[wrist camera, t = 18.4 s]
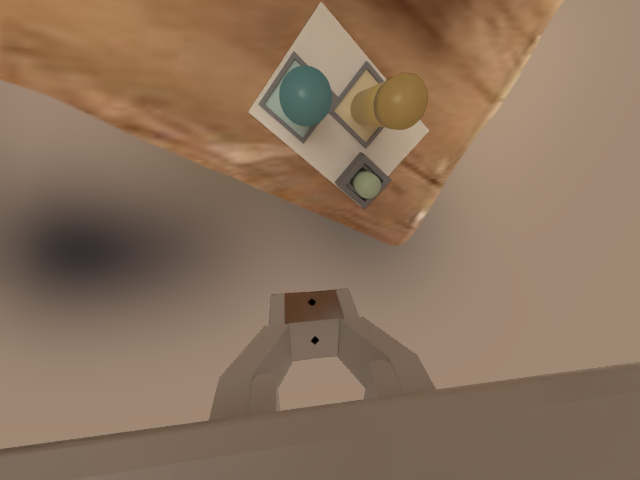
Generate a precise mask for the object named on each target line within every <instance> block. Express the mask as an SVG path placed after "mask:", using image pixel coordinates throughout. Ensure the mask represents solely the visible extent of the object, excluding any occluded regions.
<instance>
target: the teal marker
mask: <svg viewBox="0 0 640 480" xmlns="http://www.w3.org/2000/svg"><path fill="white" fill-rule="evenodd" d="M279 100H280V105H281V108H282V110H283V112H284V114H285V115H286V116H287V118H288V119H289V120H291V121H292V122H293V123H295V124H297V125H300V126H313V125H316V124H318V123H319V122H321V121H322V120H323V119H324V118H325V117H326V115H327V114H328V112H329V110H330V107H331V103H332V91H331V87H330V84H329V82H328V80H327V78H326V77H325V75H324V74H323V73H322V72H321V71H319V70H318V69H316V68H314V67H311V66H298V67H295V68H293V69H292V70H290V71H289V72H288V73H287V74H286V76H285V77H284V78H283V80H282V83H281V86H280V90H279Z"/></svg>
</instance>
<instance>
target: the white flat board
mask: <svg viewBox="0 0 640 480" xmlns="http://www.w3.org/2000/svg"><path fill="white" fill-rule="evenodd" d="M298 66H311V67H314V68H316V69H318V70H319V71H321V72H322V73H323V74H324V75H325V77H326V78H327V80H328V82H329V84H330V87H331V91H332V103H331V107H330V110H329V112H328V114H327V115H326V117H325V118H324V119H323V120H322V121H321V122H319V123H318V124H316V125H313V126H300V125H297V124H295V123H293V122H292V121H291V120H289V119H288V118H287V116H286V115H285V114H284V112H283V110H282V108H281V105H280V100H279V90H280V86H281V83H282V80H283V78H284V77H285V76H286V74H287V73H288V72H289V71H290V70H292V69H293V68H295V67H298ZM385 81H386V78H385V77H384V76H383V75H382V74H381V72H380V71H379V70H378V69H377V68H376V66H375V65H374V64H373V63H372V62H371V60H370V59H369V58H368V57H367V56H366V54H365V53H364V52H363V51H362V50H361V48H360V47H359V46H358V45H357V44H356V42H355V41H354V40H353V39H352V38H351V36H350V35H349V34H348V33H347V32H346V31H345V29H344V28H343V27H342V26H341V25H340V23H339V22H338V21H337V20H336V19H335V17H334V16H333V15H332V14H331V13H330V11H329V10H328V9H327V8H326V7H325V5H324V4H323V3H322V2H321V3H320V4H319V6H318V7H317V9H316V10H315V12H314V13H313V15H312V16H311V18H310V19H309V21H308V22H307V24H306V25H305V27H304V28H303V30H302V31H301V33H300V34H299V36H298V37H297V39H296V40H295V42H294V43H293V45H292V46H291V48H290V49H289V51H288V52H287V54H286V55H285V57H284V59H283V60H282V62H281V63H280V65H279V66H278V68H277V69H276V71H275V72H274V74H273V75H272V77H271V78H270V80H269V81H268V83H267V84H266V86H265V87H264V89H263V90H262V92H261V93H260V95H259V96H258V98H257V99H256V101H255V102H254V104H253V105H252V107H251V108H250V110H249V111H248V112H249V113H250V114H251V115H252V116H253V117H255V118H256V119H257V120H258V121H259V122H261V123H262V124H263V125H264V126H265V127H266V128H268V129H269V130H270V131H271V132H272V133H274V134H275V135H276V136H277V137H278V138H280V139H281V140H282V141H283V142H284V143H285V144H287V145H288V146H289V147H290V148H291V149H293V150H294V151H295V152H296V153H297V154H299V155H300V156H301V157H302V158H303V159H304V160H306V161H307V162H308V163H309V164H310V165H312V166H313V167H314V168H315V169H316V170H318V171H319V172H320V173H321V174H322V175H323V176H325V177H326V178H327V179H328V180H329V181H331V182H332V183H333V184H334V185H335V186H337V187H338V188H339V189H340V190H341V191H342V192H344V193H345V194H346V195H347V196H348V197H350V198H351V199H352V200H353V201H354V202H356V203H357V204H358V205H359V206H362V207H363V208H364V209H366V207H367V206H368V205H369V204H370V203H371V202H372V201H373V200H374V199H375V198H376V197H377V196H378V194H379V193H380V192H381V191H382V190H383V189H384V188H385V187H386V186H387V185H388V184H389V182H390V181H391V179H390V178H389V177H388V176H389V174H390V173H391V172H392V171H393V170H394V169H395V168H396V167H397V166H398V165H399V163H400V162H401V161H402V160H403V159H404V158H405V157H406V156H407V155H408V154H409V153H410V151H411V150H412V149H413V148H414V147H415V146H416V145H417V144H418V143H419V142H420V140H421V139H422V138H423V137H424V136H425V135H426V134H427V133H428V132H429V130H428V129H427V127H426V126H425V125H424V124H423V123H422V121H421V120H419V121H418V122H417V123H416V124H415V125H413V126H412V127H410V128H408V129H404V130H394V129H388V128H386V127H378V126H369V125H361V124H359V123H357V122H356V121H355V120H354V119H353V117H352V115H351V110H350V108H351V102H352V100H353V98H354V97H355V95H356V94H357V93H359V92H360V91H363V90H365V89H368V88H370V87H372V86H375V85H377V84H380V83H382V82H385ZM361 168H363V169H366V170H368V171H369V172H371V173H372V174H374V175H375V176H377V177H378V178H379V180H380V182H381V189H380V191H379V193H378V194H377V195H376V196H375V197H373V198H370V199H366V198H363V197H361V196H360V195H359V194H358V193H357V192H356V191H355V190H354V188H353V187H352V186H351V184H350V180H351V179H352V178H353V177H354V175H355V174H356V173H357V172H358V171H359V170H360V169H361Z"/></svg>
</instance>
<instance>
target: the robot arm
mask: <svg viewBox="0 0 640 480" xmlns="http://www.w3.org/2000/svg"><path fill="white" fill-rule="evenodd" d="M335 356H338V358H339V359H340V360H341V361H342V362H343V364H344V365H345V366H346V367H347V368H348V369H349V370H350V371H351V373H353V375H354V376H355V377H356V378H357V379H358V381H359V382H360V383H361V384H362V385H363V386H364V387H365V395H364V400H356V401H349V402H342V403H334V404H327V405H320V406H312V407H305V408H298V409H291V410H283V411H280V405H279V396H278V388H279V386H280V384H281V382H282V380H283V379H284V377H285V375H286V373H287V371H288V369H289V368H290V366H291V364H292V361H298V360H306V359H312V358H323V357H335ZM0 480H640V362H634V363H627V364H620V365H613V366H605V367H598V368H591V369H583V370H576V371H568V372H561V373H554V374H546V375H539V376H532V377H525V378H517V379H510V380H502V381H495V382H488V383H481V384H473V385H466V386H458V387H451V388H444V389H436V388H435V387H434V385H433V383H432V381H431V379H430V377H429V375H428V374H427V372H426V370H425V368H424V367H423V365H422V363H421V361H420V359H419V358H418V356H417V355H416V354H415V353H414V352H412V351H411V350H409V349H408V348H407V347H405V346H404V345H402V344H401V343H399V342H398V341H397V340H395V339H394V338H392V337H391V336H390V335H388V334H387V333H385V332H384V331H383V330H381V329H380V328H378V327H377V326H375V325H374V324H373V323H371V322H370V321H368V320H367V319H366V318H364V317H359V315H358V312H357V310H356V307H355V304H354V302H353V299H352V297H351V294H350V292H349V289H348V288H344V289H335V290H327V291H315V292H299V293H285V294H272V295H271V298H270V313H269V326H264V327H263V329H262V330H261V331H260V332H259V333H258V334H257V335H256V337H255V338H254V339H253V340H252V341H251V342H250V343H249V344H248V346H247V347H246V348H245V349H244V350H243V351H242V352H241V354H240V355H239V356H238V357H237V358H236V359H235V360H234V362H233V363H232V364H231V365H230V366H229V367H228V368H227V370H226V371H225V372H224V373H223V374H222V375H221V376H220V378H219V381H218V385H217V389H216V394H215V397H214V402H213V406H212V410H211V414H210V418H209V421H202V422H195V423H187V424H181V425H173V426H165V427H158V428H151V429H143V430H136V431H129V432H121V433H114V434H107V435H100V436H93V437H85V438H78V439H70V440H63V441H55V442H48V443H41V444H34V445H26V446H19V447H12V448H4V449H0Z"/></svg>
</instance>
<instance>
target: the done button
mask: <svg viewBox="0 0 640 480" xmlns="http://www.w3.org/2000/svg"><path fill="white" fill-rule="evenodd" d="M350 184H351V186H352V187H353V188H354V190H355V191H356V192H357V193H358V194H359V195H360V196H361V197H363V198H366V199H370V198H373V197H375V196H376V195H377V194H378V193H379V191H380V189H381V182H380V180H379V178H378V177H377V176H375V175H374V174H372V173H371V172H369V171H368V170H366V169H363V168H361V169H360V170H359V171H358V172H357V173H356V174H355V175H354V177H353V178H352V179H351V180H350Z"/></svg>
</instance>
